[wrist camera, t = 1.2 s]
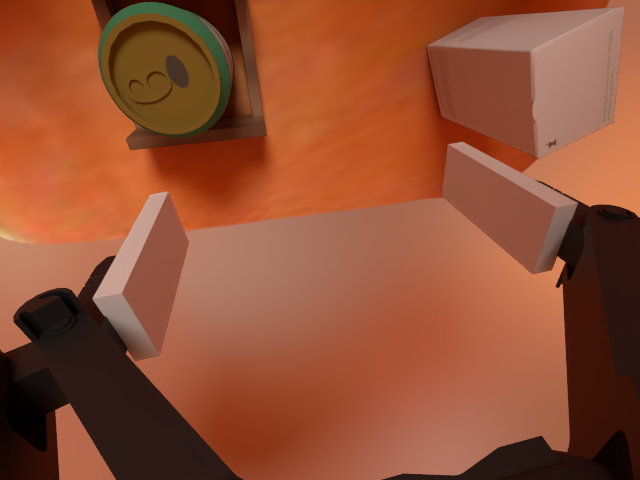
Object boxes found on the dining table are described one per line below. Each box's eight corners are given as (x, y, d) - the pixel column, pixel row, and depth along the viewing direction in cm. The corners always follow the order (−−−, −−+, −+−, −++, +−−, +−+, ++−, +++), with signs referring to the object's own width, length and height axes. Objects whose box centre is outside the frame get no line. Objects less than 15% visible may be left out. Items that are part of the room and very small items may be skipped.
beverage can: (247, 91, 33) (249, 119, 23) (173, 120, 33) (143, 159, 23) (208, -4, 28) (189, -22, 18) (122, 29, 28) (56, 29, 18)
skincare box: (489, 93, 38) (617, 126, 25) (436, 119, 38) (535, 166, 25) (481, 12, 33) (634, 1, 20) (421, 43, 33) (532, 52, 20)
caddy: (92, -16, 26) (64, -25, 22) (243, -22, 28) (243, -31, 24) (144, 134, 33) (130, 150, 29) (263, 123, 34) (266, 135, 30)
